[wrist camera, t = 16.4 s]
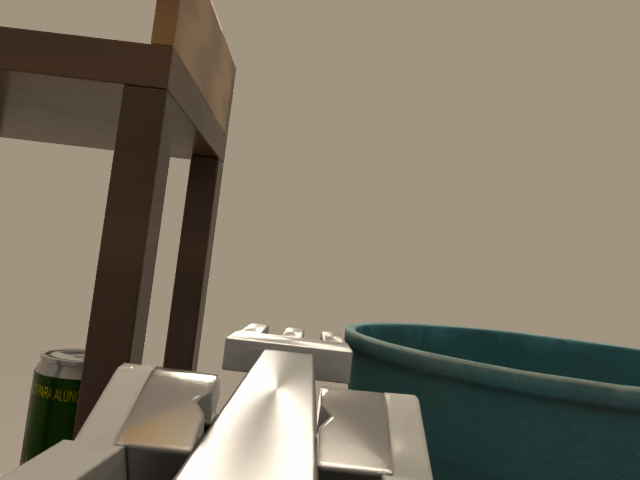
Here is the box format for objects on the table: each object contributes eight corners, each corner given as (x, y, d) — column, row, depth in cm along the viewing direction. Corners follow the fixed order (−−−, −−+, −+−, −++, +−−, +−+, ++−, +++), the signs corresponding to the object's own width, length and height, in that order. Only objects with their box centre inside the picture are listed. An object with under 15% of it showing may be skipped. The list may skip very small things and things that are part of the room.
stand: (59, 864, 17) (188, -66, 19) (-399, 815, 17) (-217, -115, 19) (164, 619, 29) (236, 68, 31) (-102, 590, 29) (-11, 38, 31)
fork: (444, 635, 5) (454, 521, 5) (1, 585, 5) (18, 471, 5) (339, 357, 23) (342, 333, 23) (245, 346, 23) (247, 322, 23)
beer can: (114, 551, 35) (140, 361, 36) (23, 577, 31) (55, 364, 32) (79, 518, 38) (104, 347, 39) (-5, 538, 35) (24, 348, 35)
